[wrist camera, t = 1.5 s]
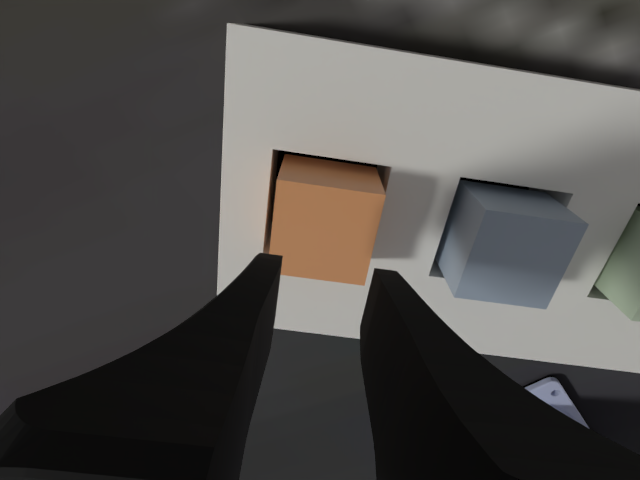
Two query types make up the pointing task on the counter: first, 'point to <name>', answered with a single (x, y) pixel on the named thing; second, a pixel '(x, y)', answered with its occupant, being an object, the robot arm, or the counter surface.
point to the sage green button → (624, 271)
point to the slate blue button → (507, 244)
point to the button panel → (432, 178)
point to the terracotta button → (326, 219)
